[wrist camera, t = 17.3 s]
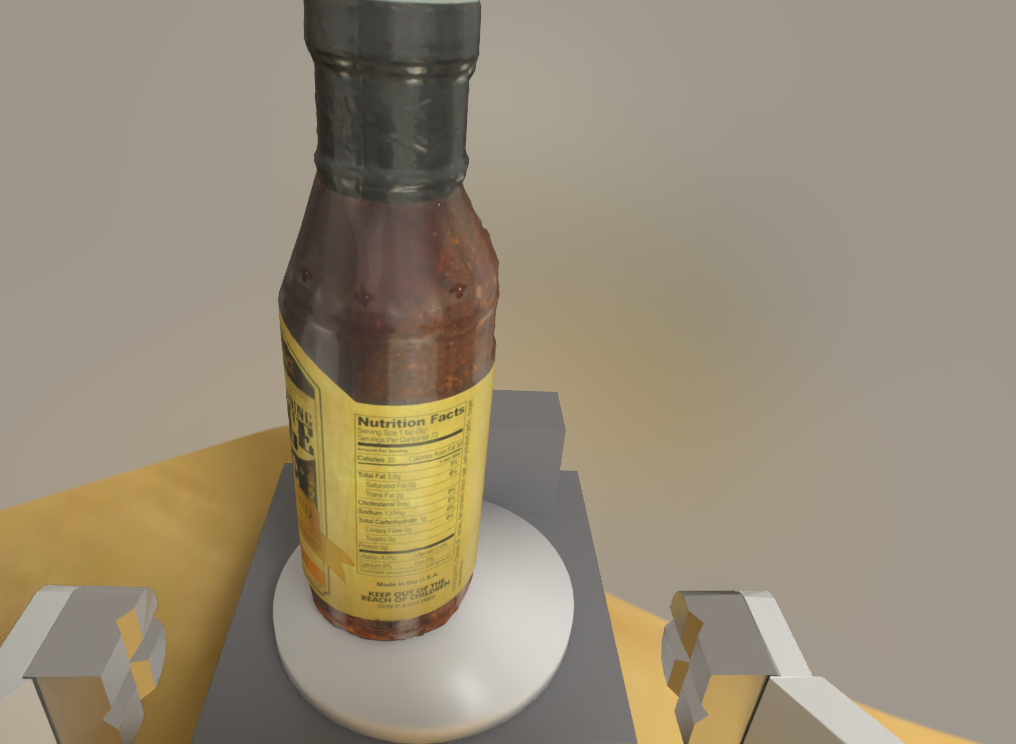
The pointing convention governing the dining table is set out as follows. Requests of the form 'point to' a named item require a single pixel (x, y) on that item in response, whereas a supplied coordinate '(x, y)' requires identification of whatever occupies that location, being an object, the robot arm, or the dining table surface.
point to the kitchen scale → (450, 648)
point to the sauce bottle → (390, 320)
